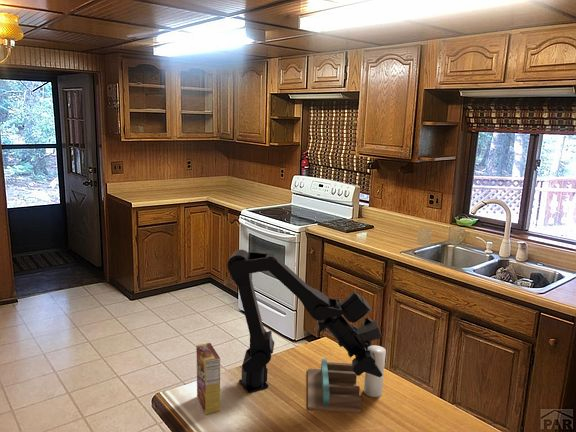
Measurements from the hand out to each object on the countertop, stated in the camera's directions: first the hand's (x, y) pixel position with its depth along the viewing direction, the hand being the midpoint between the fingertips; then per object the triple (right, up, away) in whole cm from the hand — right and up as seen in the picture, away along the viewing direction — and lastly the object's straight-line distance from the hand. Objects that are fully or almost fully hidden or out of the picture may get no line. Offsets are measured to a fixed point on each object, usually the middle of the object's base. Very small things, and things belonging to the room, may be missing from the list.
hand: (379, 371), depth 131 cm
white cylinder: (-2, -6, +1) cm, 7 cm away
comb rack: (-13, -6, +2) cm, 15 cm away
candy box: (-47, -6, -8) cm, 48 cm away
